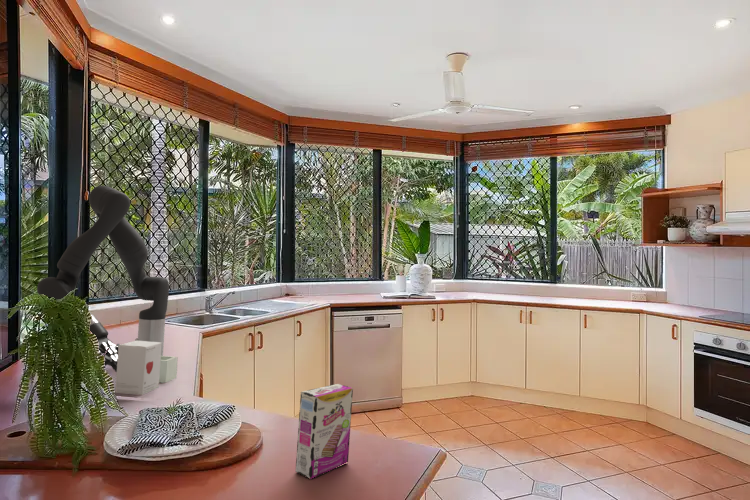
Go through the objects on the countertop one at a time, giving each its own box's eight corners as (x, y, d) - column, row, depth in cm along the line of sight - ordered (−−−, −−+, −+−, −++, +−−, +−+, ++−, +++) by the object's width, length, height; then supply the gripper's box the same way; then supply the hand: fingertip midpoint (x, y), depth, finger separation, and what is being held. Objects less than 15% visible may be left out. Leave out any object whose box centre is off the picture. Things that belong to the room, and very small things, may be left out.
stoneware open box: (145, 384, 156) (146, 359, 156) (156, 379, 163) (157, 355, 163) (165, 385, 156) (167, 360, 156) (176, 380, 163) (177, 356, 163)
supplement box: (142, 398, 141) (145, 346, 142) (114, 395, 142) (117, 344, 143) (159, 389, 150) (162, 341, 151) (132, 387, 151) (135, 339, 152)
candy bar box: (311, 481, 94) (316, 396, 94) (294, 473, 97) (298, 391, 97) (350, 464, 103) (354, 387, 103) (333, 457, 106) (337, 382, 106)
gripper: (81, 324, 141) (118, 369, 140) (110, 319, 155) (144, 360, 153) (63, 340, 142) (100, 386, 140) (93, 334, 155) (127, 375, 154)
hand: (122, 372), depth 147 cm, fingers closed
